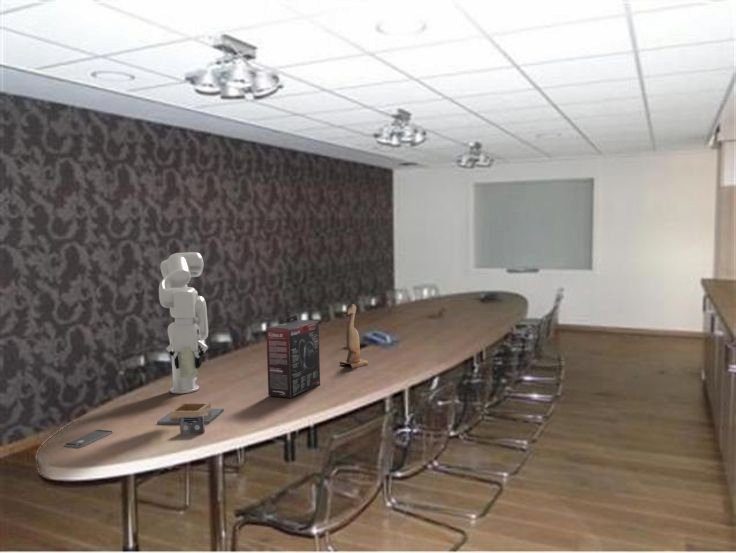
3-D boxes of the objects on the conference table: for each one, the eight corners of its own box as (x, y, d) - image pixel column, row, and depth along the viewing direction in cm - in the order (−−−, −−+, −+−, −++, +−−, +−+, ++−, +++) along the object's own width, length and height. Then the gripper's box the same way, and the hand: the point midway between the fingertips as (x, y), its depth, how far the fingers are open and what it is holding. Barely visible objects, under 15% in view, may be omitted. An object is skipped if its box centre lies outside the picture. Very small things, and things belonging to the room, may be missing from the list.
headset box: (298, 382, 282) (295, 312, 280) (322, 384, 277) (319, 312, 274) (267, 396, 260) (263, 320, 258) (292, 399, 255) (288, 321, 252)
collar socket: (175, 411, 244) (174, 401, 244) (223, 411, 241) (223, 401, 241) (157, 424, 228) (156, 413, 228) (208, 423, 226) (208, 413, 225)
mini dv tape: (204, 432, 217) (203, 415, 216) (203, 433, 215) (202, 417, 215) (181, 432, 217) (180, 416, 216) (180, 434, 215) (179, 417, 215)
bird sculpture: (338, 366, 315) (334, 305, 312) (355, 361, 323) (351, 301, 320) (352, 369, 307) (348, 306, 303) (369, 364, 315) (366, 303, 311)
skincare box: (198, 377, 234) (197, 345, 233) (189, 379, 230) (187, 347, 229) (187, 375, 237) (185, 344, 236) (178, 378, 234) (176, 346, 233)
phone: (97, 432, 223) (62, 447, 208) (97, 429, 223) (62, 444, 207) (114, 433, 220) (80, 449, 205) (114, 430, 220) (80, 446, 205)
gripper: (210, 320, 235) (213, 365, 236) (167, 320, 237) (170, 365, 238) (203, 323, 227) (206, 369, 229) (159, 324, 229) (162, 370, 231)
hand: (188, 367), depth 233 cm, fingers closed on skincare box, 7 cm apart
